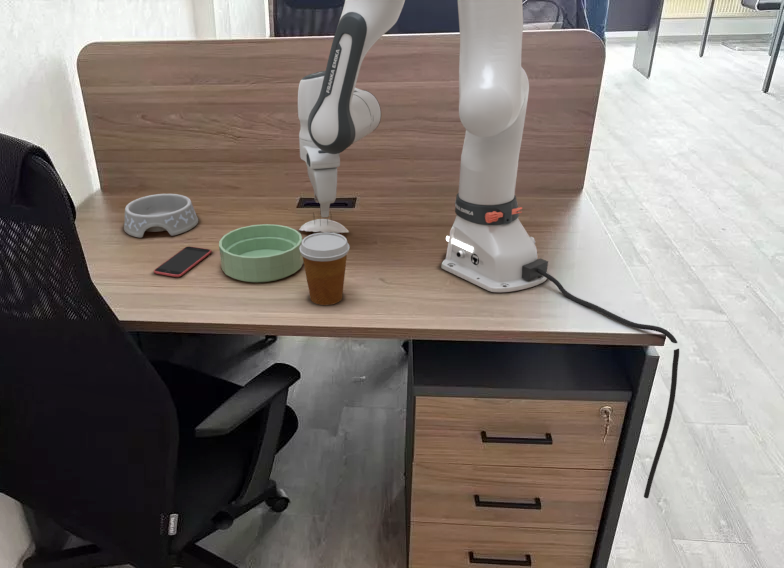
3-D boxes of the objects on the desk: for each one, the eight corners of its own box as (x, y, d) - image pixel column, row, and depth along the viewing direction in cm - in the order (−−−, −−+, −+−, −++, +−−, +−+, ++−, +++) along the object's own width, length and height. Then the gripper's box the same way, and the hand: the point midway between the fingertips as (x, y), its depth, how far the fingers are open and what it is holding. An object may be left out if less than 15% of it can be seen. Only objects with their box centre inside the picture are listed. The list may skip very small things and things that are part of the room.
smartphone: (151, 271, 156) (186, 245, 166) (152, 273, 156) (187, 247, 166) (179, 275, 153) (213, 249, 164) (179, 278, 153) (213, 251, 164)
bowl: (316, 272, 152) (315, 246, 149) (237, 291, 147) (234, 264, 144) (285, 243, 166) (283, 218, 163) (212, 259, 161) (208, 234, 158)
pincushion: (351, 229, 171) (351, 206, 168) (345, 239, 166) (345, 216, 163) (302, 226, 174) (301, 204, 171) (295, 236, 169) (294, 213, 166)
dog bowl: (130, 214, 187) (126, 194, 184) (201, 209, 187) (198, 189, 184) (118, 240, 173) (114, 219, 170) (195, 235, 173) (192, 214, 170)
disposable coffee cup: (299, 308, 139) (295, 251, 133) (305, 286, 147) (302, 231, 141) (348, 310, 138) (347, 252, 132) (352, 287, 146) (351, 231, 140)
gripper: (299, 137, 168) (302, 194, 175) (311, 164, 151) (314, 226, 158) (326, 135, 169) (328, 192, 176) (341, 161, 151) (342, 223, 159)
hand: (321, 208), depth 167 cm, fingers open, 8 cm apart
